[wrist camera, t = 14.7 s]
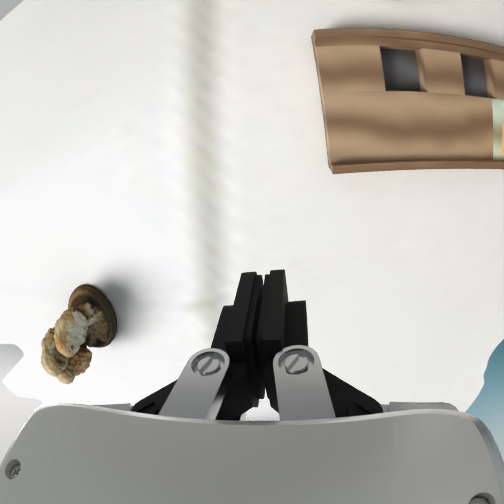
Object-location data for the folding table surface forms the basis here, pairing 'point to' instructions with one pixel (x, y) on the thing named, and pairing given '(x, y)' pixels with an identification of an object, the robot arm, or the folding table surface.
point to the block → (503, 142)
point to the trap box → (409, 100)
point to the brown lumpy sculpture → (78, 334)
